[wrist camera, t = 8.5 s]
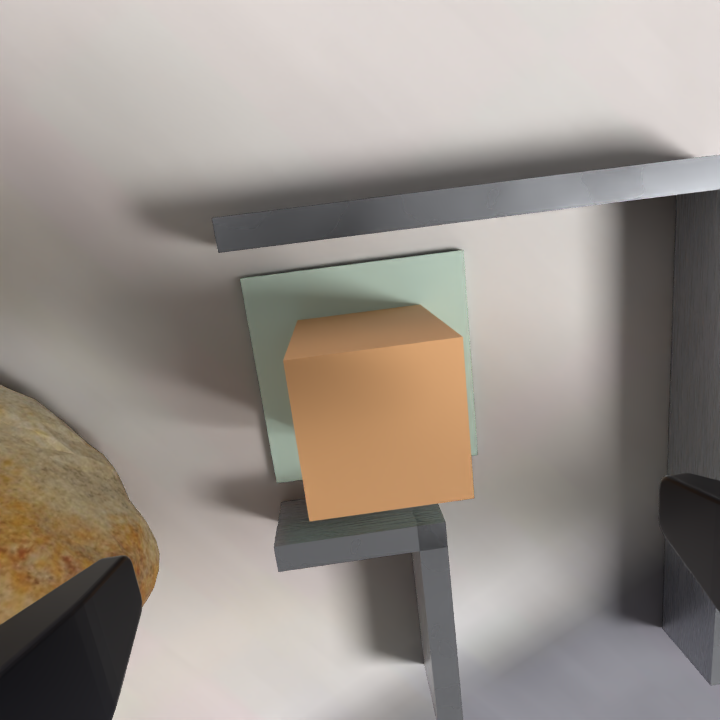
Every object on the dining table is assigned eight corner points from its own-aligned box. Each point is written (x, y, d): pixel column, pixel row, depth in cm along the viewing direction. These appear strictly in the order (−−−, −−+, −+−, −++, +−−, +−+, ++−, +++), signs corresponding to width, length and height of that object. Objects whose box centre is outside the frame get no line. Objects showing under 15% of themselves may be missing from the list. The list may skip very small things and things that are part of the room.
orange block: (430, 419, 19) (474, 497, 14) (314, 435, 19) (309, 521, 14) (420, 304, 18) (462, 337, 13) (297, 320, 18) (283, 360, 12)
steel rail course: (704, 161, 18) (776, 147, 15) (683, 625, 23) (735, 681, 20) (231, 220, 18) (211, 217, 15) (313, 681, 22) (311, 747, 20)
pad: (461, 250, 18) (463, 250, 18) (475, 451, 20) (477, 455, 20) (241, 278, 18) (239, 279, 18) (277, 479, 20) (276, 483, 20)
